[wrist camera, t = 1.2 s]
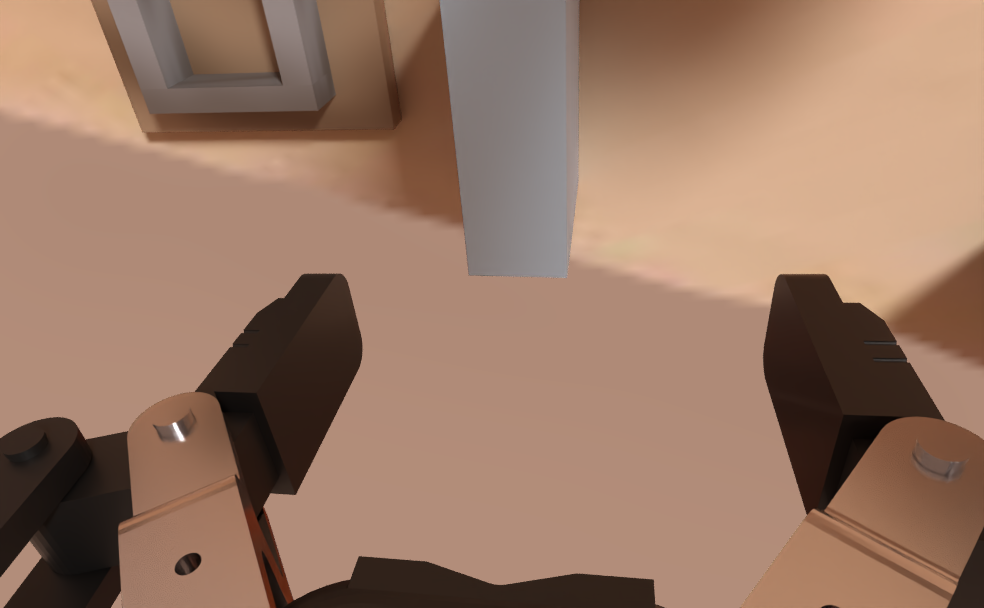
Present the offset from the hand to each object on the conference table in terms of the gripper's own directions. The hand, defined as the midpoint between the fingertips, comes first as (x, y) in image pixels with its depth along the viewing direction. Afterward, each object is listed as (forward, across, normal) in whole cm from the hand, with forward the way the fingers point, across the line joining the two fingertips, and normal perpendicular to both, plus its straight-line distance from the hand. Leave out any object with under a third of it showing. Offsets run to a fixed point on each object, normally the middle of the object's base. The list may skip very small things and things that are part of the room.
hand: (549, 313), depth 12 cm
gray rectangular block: (+17, +2, 0) cm, 17 cm away
